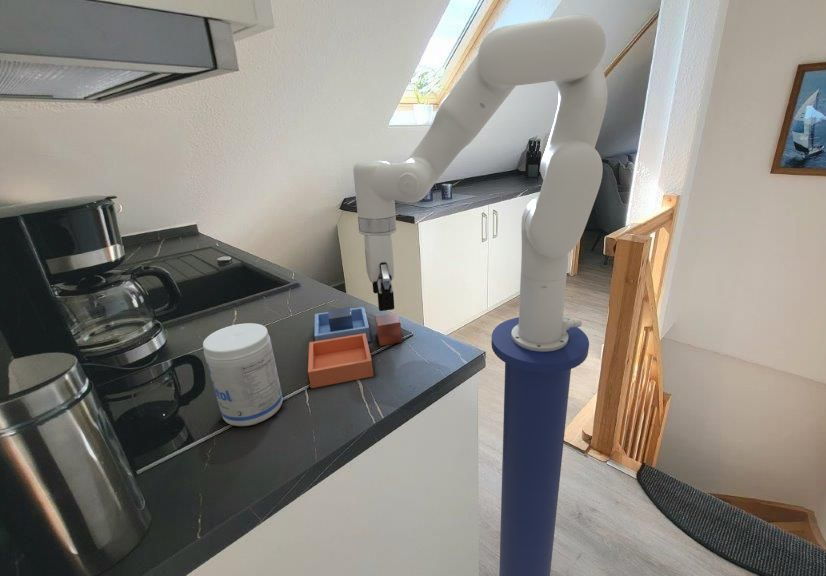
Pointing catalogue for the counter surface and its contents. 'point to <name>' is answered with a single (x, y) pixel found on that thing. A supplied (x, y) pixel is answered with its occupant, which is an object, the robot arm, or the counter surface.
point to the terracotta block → (388, 329)
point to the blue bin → (324, 330)
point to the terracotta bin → (339, 360)
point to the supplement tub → (243, 373)
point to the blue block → (340, 319)
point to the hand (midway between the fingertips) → (383, 300)
